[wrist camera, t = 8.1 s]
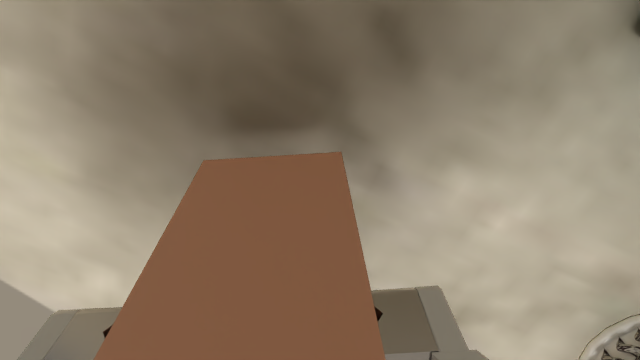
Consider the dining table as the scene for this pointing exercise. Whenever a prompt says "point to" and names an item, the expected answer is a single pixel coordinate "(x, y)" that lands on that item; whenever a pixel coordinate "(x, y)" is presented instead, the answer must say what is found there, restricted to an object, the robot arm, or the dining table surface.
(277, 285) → the domino
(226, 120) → the dining table surface
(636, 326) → the decorative candle
